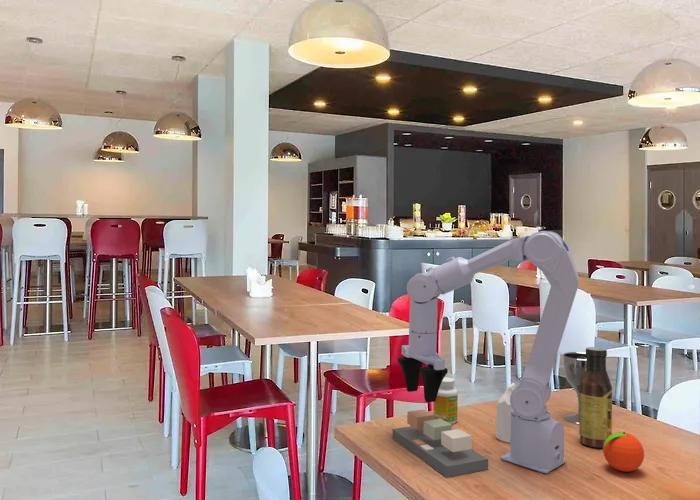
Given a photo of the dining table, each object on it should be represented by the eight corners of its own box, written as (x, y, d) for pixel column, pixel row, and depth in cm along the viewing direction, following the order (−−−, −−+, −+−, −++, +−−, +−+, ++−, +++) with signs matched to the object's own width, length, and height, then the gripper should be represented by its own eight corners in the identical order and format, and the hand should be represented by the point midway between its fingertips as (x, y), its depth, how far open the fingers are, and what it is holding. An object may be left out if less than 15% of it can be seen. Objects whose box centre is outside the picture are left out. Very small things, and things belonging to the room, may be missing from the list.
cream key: (471, 449, 110) (471, 435, 109) (452, 452, 108) (453, 438, 108) (459, 441, 113) (459, 428, 113) (441, 444, 112) (441, 431, 111)
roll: (498, 377, 129) (524, 379, 127) (497, 431, 129) (523, 434, 127) (495, 384, 123) (523, 387, 121) (494, 441, 123) (522, 444, 122)
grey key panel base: (488, 469, 109) (488, 457, 109) (446, 477, 105) (447, 465, 105) (429, 432, 128) (429, 422, 128) (392, 438, 124) (392, 428, 124)
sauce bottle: (614, 450, 119) (617, 352, 118) (581, 448, 120) (584, 351, 119) (607, 439, 125) (609, 346, 124) (576, 436, 126) (578, 344, 125)
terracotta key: (433, 426, 121) (433, 414, 121) (416, 429, 120) (417, 417, 120) (423, 421, 125) (424, 409, 125) (407, 423, 123) (407, 411, 123)
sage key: (451, 437, 115) (451, 424, 115) (434, 440, 114) (434, 427, 114) (440, 430, 119) (440, 418, 119) (423, 433, 118) (423, 421, 117)
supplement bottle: (450, 426, 132) (451, 383, 132) (429, 421, 136) (429, 379, 135) (461, 420, 137) (461, 378, 136) (440, 415, 140) (441, 375, 139)
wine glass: (554, 416, 140) (555, 353, 139) (579, 412, 143) (580, 351, 143) (580, 426, 133) (582, 360, 132) (606, 422, 136) (607, 357, 135)
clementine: (615, 480, 104) (616, 441, 104) (589, 465, 111) (590, 428, 111) (652, 475, 107) (653, 437, 106) (624, 461, 113) (625, 424, 113)
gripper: (389, 326, 127) (388, 388, 127) (423, 339, 113) (421, 408, 114) (418, 324, 130) (416, 385, 130) (454, 337, 116) (452, 404, 117)
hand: (420, 396), depth 122 cm, fingers open, 7 cm apart
